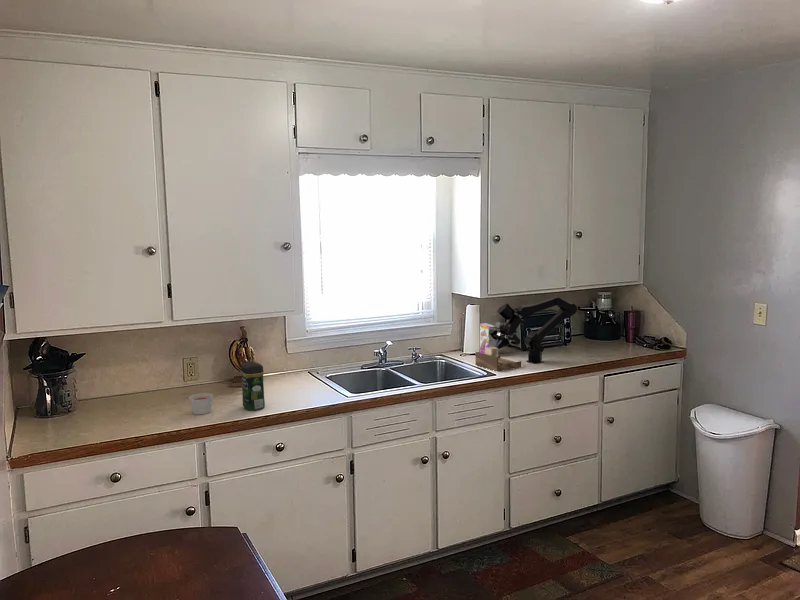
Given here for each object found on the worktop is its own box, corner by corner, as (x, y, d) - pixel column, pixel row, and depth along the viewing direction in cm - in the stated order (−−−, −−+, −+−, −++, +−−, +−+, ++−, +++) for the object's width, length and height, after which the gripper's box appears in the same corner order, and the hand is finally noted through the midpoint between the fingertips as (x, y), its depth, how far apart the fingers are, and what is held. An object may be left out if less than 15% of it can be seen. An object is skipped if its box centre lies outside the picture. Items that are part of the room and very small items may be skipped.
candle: (218, 411, 258) (217, 395, 257) (199, 417, 250) (199, 401, 249) (203, 407, 263) (202, 392, 262) (184, 413, 255) (184, 397, 255)
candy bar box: (478, 353, 360) (478, 323, 358) (486, 352, 362) (486, 323, 360) (488, 357, 350) (488, 326, 348) (496, 356, 352) (497, 326, 350)
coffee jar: (240, 406, 264) (238, 361, 262) (259, 403, 268) (257, 358, 266) (247, 412, 256) (245, 365, 253) (267, 409, 260) (265, 363, 257)
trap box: (499, 361, 340) (499, 348, 339) (521, 367, 326) (521, 353, 326) (475, 365, 331) (475, 351, 330) (496, 371, 318) (496, 357, 317)
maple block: (491, 362, 329) (491, 346, 328) (498, 364, 325) (498, 348, 324) (484, 363, 327) (484, 347, 326) (491, 365, 322) (491, 349, 321)
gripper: (491, 313, 335) (474, 337, 330) (516, 318, 319) (499, 343, 315) (502, 327, 340) (486, 350, 336) (528, 332, 325) (511, 357, 320)
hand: (495, 350), depth 326 cm, fingers closed
